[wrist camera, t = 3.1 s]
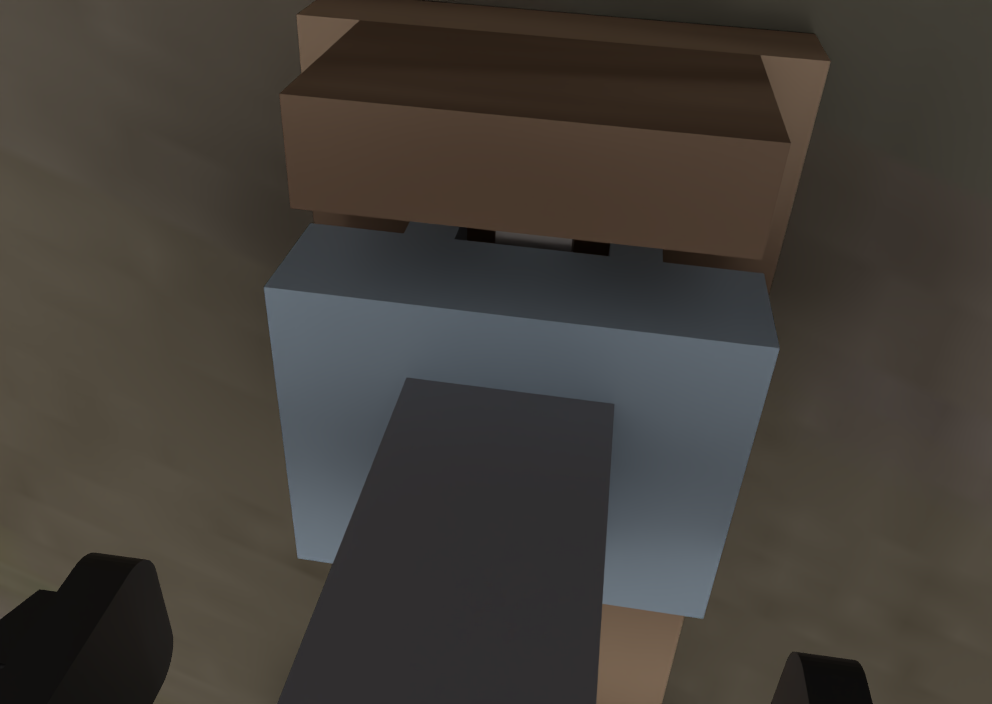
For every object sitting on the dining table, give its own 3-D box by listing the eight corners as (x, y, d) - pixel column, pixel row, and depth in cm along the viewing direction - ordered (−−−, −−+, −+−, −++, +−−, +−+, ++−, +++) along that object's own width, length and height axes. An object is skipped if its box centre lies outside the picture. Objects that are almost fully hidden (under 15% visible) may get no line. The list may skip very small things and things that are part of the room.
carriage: (333, 192, 15) (-3, 652, 7) (755, 236, 14) (874, 798, 6) (349, 440, 18) (128, 940, 10) (695, 486, 17) (728, 1058, 10)
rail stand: (326, -8, 15) (199, 86, 10) (815, 33, 14) (882, 151, 10) (369, 677, 25) (315, 853, 21) (643, 721, 25) (641, 913, 21)
